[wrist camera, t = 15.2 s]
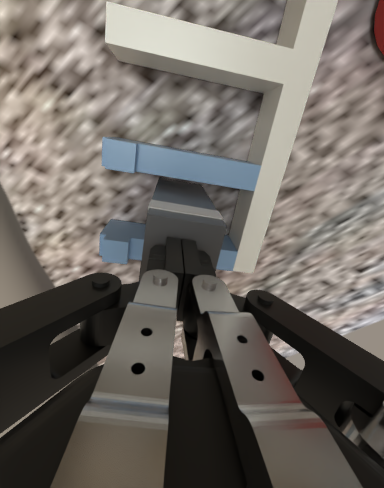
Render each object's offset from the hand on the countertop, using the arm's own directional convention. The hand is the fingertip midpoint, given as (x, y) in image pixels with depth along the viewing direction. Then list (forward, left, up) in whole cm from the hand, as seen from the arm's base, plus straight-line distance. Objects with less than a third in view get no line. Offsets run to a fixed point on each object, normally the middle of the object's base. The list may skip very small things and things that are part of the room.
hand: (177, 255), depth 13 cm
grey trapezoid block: (0, 0, -12) cm, 12 cm away
